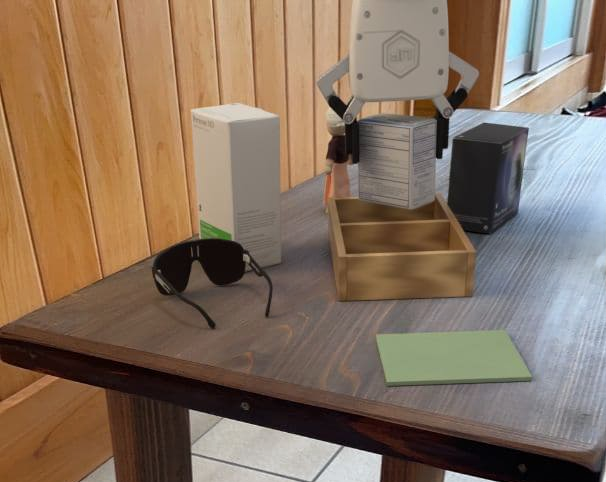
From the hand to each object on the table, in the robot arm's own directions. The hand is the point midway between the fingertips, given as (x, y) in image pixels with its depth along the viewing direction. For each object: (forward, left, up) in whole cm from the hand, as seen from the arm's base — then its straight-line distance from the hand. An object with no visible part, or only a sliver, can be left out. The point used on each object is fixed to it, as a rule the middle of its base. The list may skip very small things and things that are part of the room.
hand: (396, 158), depth 94 cm
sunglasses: (+20, +16, -10) cm, 27 cm away
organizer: (+1, +5, -10) cm, 11 cm away
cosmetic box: (+18, +2, -10) cm, 20 cm away
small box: (-12, -10, -10) cm, 19 cm away
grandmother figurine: (+6, -17, -10) cm, 20 cm away
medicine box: (0, 0, -5) cm, 5 cm away
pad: (-1, +31, -10) cm, 33 cm away
